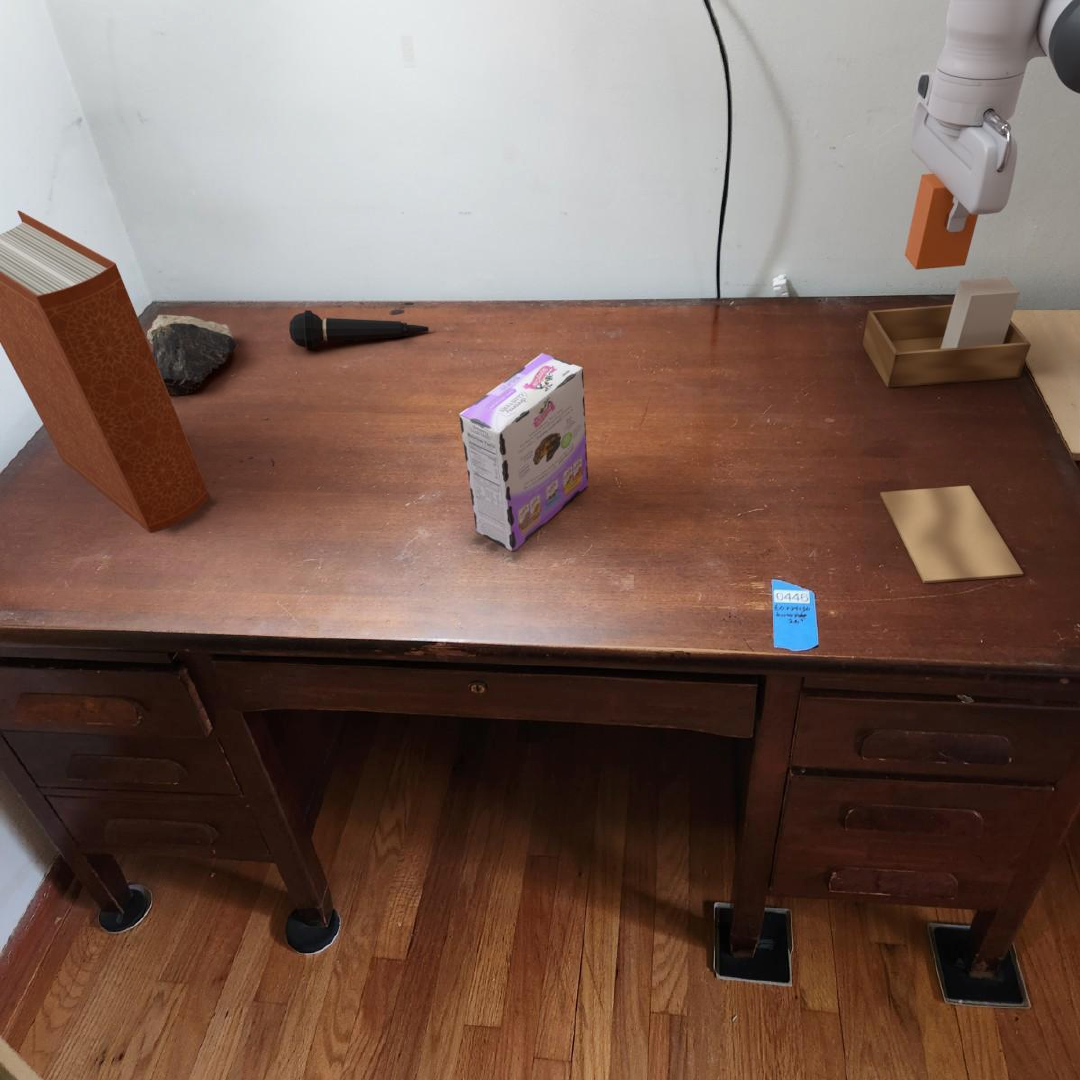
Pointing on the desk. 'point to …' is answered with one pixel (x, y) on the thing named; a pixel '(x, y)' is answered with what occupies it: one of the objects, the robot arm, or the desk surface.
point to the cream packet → (980, 313)
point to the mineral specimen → (188, 350)
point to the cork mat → (949, 535)
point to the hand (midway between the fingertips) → (944, 219)
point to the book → (94, 375)
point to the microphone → (344, 329)
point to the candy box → (526, 449)
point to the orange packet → (936, 229)
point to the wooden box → (935, 350)
